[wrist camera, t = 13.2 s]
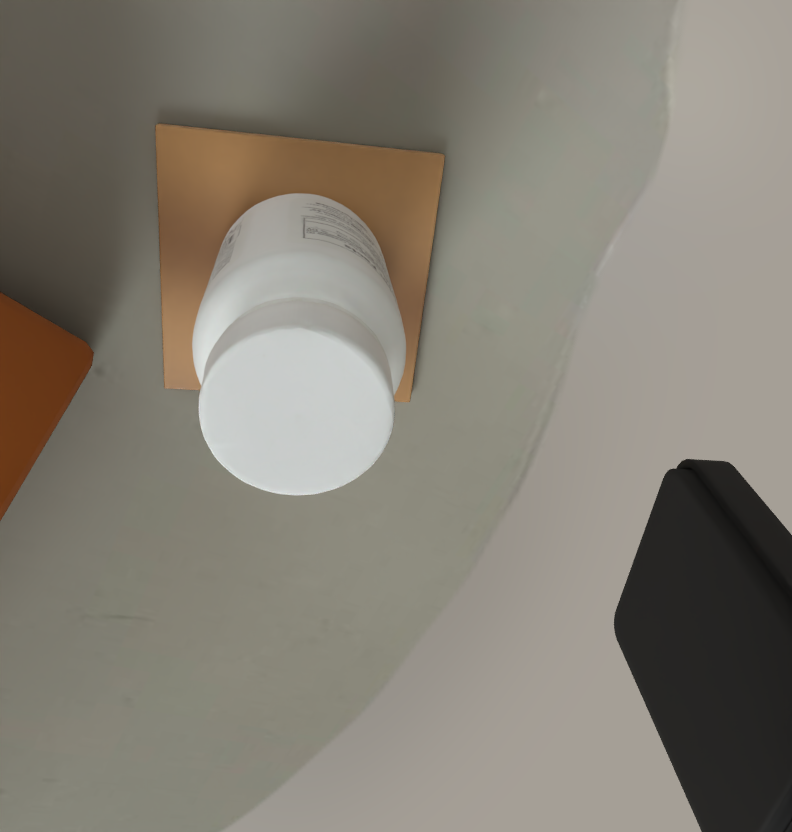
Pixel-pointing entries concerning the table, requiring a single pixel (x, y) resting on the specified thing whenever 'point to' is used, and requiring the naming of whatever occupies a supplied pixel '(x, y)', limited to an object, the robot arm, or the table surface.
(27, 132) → the table surface
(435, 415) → the table surface
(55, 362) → the alarm clock
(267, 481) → the pill bottle
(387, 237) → the placemat
